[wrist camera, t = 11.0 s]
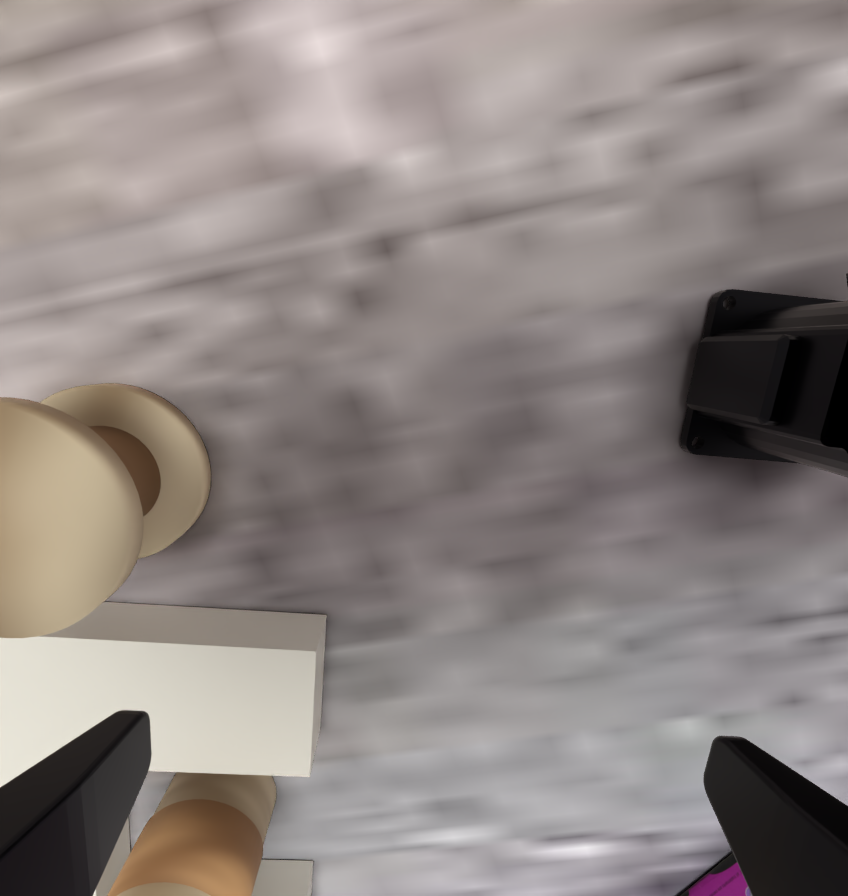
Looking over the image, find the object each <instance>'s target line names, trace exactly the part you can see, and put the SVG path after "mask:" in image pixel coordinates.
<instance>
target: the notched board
mask: <svg viewBox="0 0 848 896" xmlns="http://www.w3.org/2000/svg"><path fill="white" fill-rule="evenodd" d="M326 618H327V615H320V614H303V613H286V612H269V611H252V610H235V609H218V608H201V607H184V606H167V605H150V604H133V603H116V602H103V603H102V604H101V605H99V606H98V607H97V608H96V609H95V610H93V611H92V612H91V613H90V614H88V615H87V616H86V617H84V618H83V619H82V620H80V621H78V622H76V623H75V624H73V625H71V626H69V627H67V628H65V629H62V630H59V631H57V632H54V633H50V634H46V635H42V636H37V637H29V638H0V787H1V786H3V785H4V784H6V783H8V782H9V781H11V780H12V779H14V778H15V777H17V776H18V775H20V774H21V773H23V772H24V771H26V770H27V769H29V768H31V767H32V766H34V765H35V764H37V763H38V762H40V761H41V760H43V759H44V758H46V757H47V756H49V755H50V754H52V753H54V752H55V751H57V750H58V749H60V748H61V747H63V746H64V745H66V744H67V743H69V742H70V741H72V740H73V739H75V738H77V737H78V736H80V735H81V734H83V733H84V732H86V731H87V730H89V729H90V728H92V727H93V726H95V725H96V724H98V723H100V722H101V721H103V720H104V719H106V718H107V717H109V716H110V715H112V714H114V713H115V712H117V711H120V710H136V711H145V712H147V713H148V715H149V718H150V731H151V752H152V755H151V763H150V767H149V770H148V771H160V772H187V773H214V774H241V775H269V776H296V777H310V774H311V770H312V765H313V761H314V756H315V752H316V747H317V742H318V738H319V733H320V728H321V710H322V692H323V673H324V655H325V636H326ZM129 854H130V834H129V816H128V818H127V820H126V823H125V825H124V827H123V829H122V832H121V834H120V836H119V839H118V841H117V843H116V845H115V848H114V850H113V852H112V854H111V857H110V859H109V861H108V863H107V866H106V868H105V870H104V872H103V875H102V877H101V879H100V881H99V883H98V885H97V888H96V890H95V892H94V894H93V896H107V895H108V893H109V891H110V889H111V888H112V886H113V884H114V882H115V880H116V878H117V877H118V875H119V873H120V871H121V869H122V867H123V866H124V864H125V862H126V860H127V858H128V856H129ZM312 876H313V861H299V860H261V863H260V867H259V870H258V874H257V877H256V881H255V884H254V888H253V892H252V895H251V896H311V894H312Z"/></svg>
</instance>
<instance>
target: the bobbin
mask: <svg viewBox="0 0 848 896" xmlns="http://www.w3.org/2000/svg"><path fill="white" fill-rule="evenodd" d="M210 486H211V469H210V462H209V458H208V454H207V451H206V448H205V445H204V443H203V441H202V439H201V437H200V435H199V433H198V432H197V431H196V429H195V428H194V426H193V425H192V423H191V422H190V421H189V420H188V419H187V418H186V416H185V415H184V414H183V413H182V412H180V411H179V410H178V409H177V408H176V407H175V406H174V405H172V404H171V403H169V402H168V401H167V400H165V399H163V398H162V397H160V396H158V395H156V394H154V393H152V392H149V391H147V390H145V389H142V388H138V387H135V386H131V385H125V384H114V383H105V384H95V385H87V386H79V387H74V388H70V389H66V390H63V391H60V392H58V393H55V394H53V395H51V396H50V397H48V398H46V399H44V400H43V401H42V402H40V403H38V402H34V401H30V400H25V399H18V398H7V397H0V638H29V637H37V636H42V635H46V634H50V633H54V632H57V631H59V630H62V629H65V628H67V627H69V626H71V625H73V624H75V623H76V622H78V621H80V620H82V619H83V618H84V617H86V616H87V615H88V614H90V613H91V612H92V611H93V610H95V609H96V608H97V607H98V606H99V605H101V604H102V603H103V602H104V601H105V600H106V599H108V598H109V597H110V596H111V595H112V594H113V593H114V592H115V591H116V590H117V589H118V588H119V587H120V586H121V585H122V584H123V583H124V582H125V580H126V579H127V578H128V576H129V575H130V573H131V572H132V570H133V568H134V566H135V564H136V562H137V559H139V558H143V557H147V556H150V555H152V554H155V553H157V552H159V551H161V550H163V549H165V548H166V547H168V546H169V545H170V544H172V543H173V542H174V541H176V540H177V539H178V538H179V537H180V536H182V535H183V534H184V533H185V532H186V531H187V530H188V529H189V528H190V527H191V526H192V525H193V524H194V523H195V522H196V520H197V519H198V518H199V516H200V515H201V513H202V511H203V509H204V507H205V505H206V502H207V500H208V496H209V492H210Z"/></svg>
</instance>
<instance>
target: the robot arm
mask: <svg viewBox="0 0 848 896" xmlns="http://www.w3.org/2000/svg"><path fill="white" fill-rule="evenodd" d="M846 276H847V285H848V273H847V274H846ZM725 298H727V299H728V301H729V305H728V307H727V308H726V309H725V308H724V306H723V301H724V299H725ZM687 404H688V408H687V412H686V417H685V422H684V426H683V431H682V435H681V446H682V448H683V449H684V450H685V451H687V452H690V453H693V454H697V455H709V456H721V457H733V458H744V459H756V460H768V461H780V462H792V463H801V464H805V465H808V466H812V467H815V468H818V469H822V470H825V471H829V472H832V473H835V474H839V475H842V476H846V477H848V301H835V300H826V299H817V298H808V297H798V296H789V295H780V294H771V293H762V292H753V291H743V290H734V289H731V290H724V291H720V292H718V293H716V294H715V295H714V296H713V297H712V300H711V302H710V307H709V311H708V316H707V320H706V325H705V330H704V334H703V339H702V341H701V342H700V343H699V347H698V352H697V357H696V361H695V366H694V371H693V375H692V380H691V384H690V389H689V394H688V398H687ZM695 437H698V442H697V444H696V445H695V446H692V441H693V439H694V438H695ZM151 755H152V752H151V731H150V718H149V715H148V713H147V712H145V711H136V710H120V711H117V712H115V713H114V714H112V715H110V716H109V717H107V718H106V719H104V720H103V721H101V722H100V723H98V724H96V725H95V726H93V727H92V728H90V729H89V730H87V731H86V732H84V733H83V734H81V735H80V736H78V737H77V738H75V739H73V740H72V741H70V742H69V743H67V744H66V745H64V746H63V747H61V748H60V749H58V750H57V751H55V752H54V753H52V754H50V755H49V756H47V757H46V758H44V759H43V760H41V761H40V762H38V763H37V764H35V765H34V766H32V767H31V768H29V769H27V770H26V771H24V772H23V773H21V774H20V775H18V776H17V777H15V778H14V779H12V780H11V781H9V782H8V783H6V784H4V785H3V786H1V787H0V896H93V894H94V892H95V890H96V888H97V885H98V883H99V881H100V879H101V877H102V875H103V872H104V870H105V868H106V866H107V863H108V861H109V859H110V857H111V854H112V852H113V850H114V848H115V845H116V843H117V841H118V839H119V836H120V834H121V832H122V829H123V827H124V825H125V823H126V820H127V818H128V816H129V814H130V811H131V809H132V807H133V805H134V802H135V800H136V798H137V796H138V793H139V791H140V789H141V787H142V784H143V782H144V780H145V778H146V775H147V773H148V770H149V767H150V763H151ZM704 787H705V790H706V793H707V796H708V798H709V801H710V803H711V805H712V807H713V810H714V812H715V814H716V816H717V818H718V821H719V823H720V825H721V827H722V830H723V832H724V834H725V836H726V839H727V841H728V843H729V845H730V847H731V850H732V852H733V854H734V856H735V859H736V861H737V863H738V865H739V867H740V870H741V872H742V874H743V876H744V879H745V881H746V883H747V885H748V888H749V890H750V892H751V894H752V896H848V806H847V805H845V804H844V803H842V802H841V801H839V800H838V799H836V798H835V797H833V796H832V795H830V794H829V793H827V792H826V791H824V790H822V789H821V788H819V787H818V786H816V785H815V784H813V783H812V782H810V781H809V780H807V779H806V778H804V777H803V776H801V775H800V774H798V773H797V772H795V771H794V770H792V769H791V768H789V767H788V766H786V765H785V764H783V763H782V762H780V761H779V760H777V759H776V758H774V757H772V756H771V755H769V754H768V753H766V752H765V751H763V750H762V749H760V748H759V747H757V746H756V745H754V744H753V743H751V742H750V741H748V740H747V739H745V738H742V737H737V736H718V737H716V738H715V739H714V740H713V742H712V746H711V749H710V753H709V757H708V761H707V764H706V768H705V772H704Z"/></svg>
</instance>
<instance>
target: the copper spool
mask: <svg viewBox="0 0 848 896" xmlns="http://www.w3.org/2000/svg"><path fill="white" fill-rule="evenodd" d="M276 795H277V794H276V786H275V782H274V780H273V778H272V776H269V775H241V774H214V773H187V772H177V773H176V774H175V776H174V778H173V780H172V782H171V783H170V785H169V787H168V789H167V791H166V793H165V795H164V796H163V798H162V800H161V802H160V804H159V806H158V808H157V810H156V811H155V813H154V815H153V816H152V817H151V818H150V820H149V821H148V822H147V824H146V825H145V827H144V829H143V831H142V832H141V834H140V836H139V838H138V840H137V842H136V843H135V845H134V847H133V849H132V851H131V853H130V854H129V856H128V858H127V860H126V862H125V864H124V866H123V867H122V869H121V871H120V873H119V875H118V877H117V878H116V880H115V882H114V884H113V886H112V888H111V889H110V891H109V893H108V895H107V896H251V895H252V892H253V888H254V884H255V881H256V877H257V874H258V870H259V867H260V863H261V859H262V856H263V844H264V840H265V837H266V833H267V830H268V826H269V823H270V819H271V816H272V812H273V809H274V805H275V802H276Z"/></svg>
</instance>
